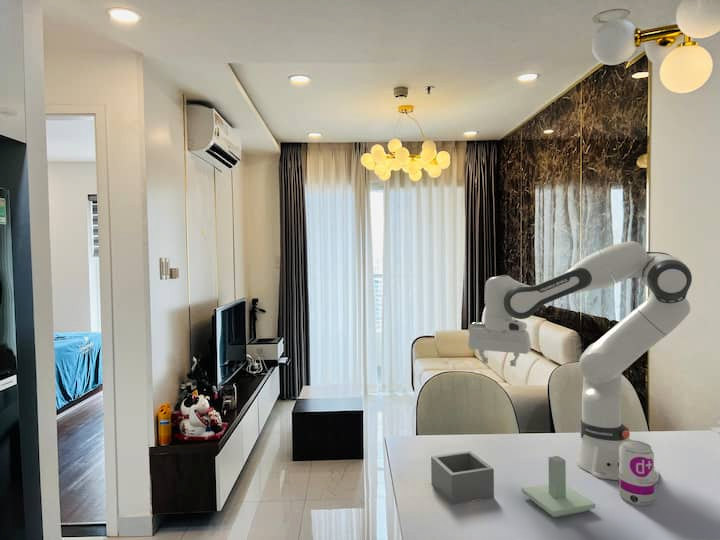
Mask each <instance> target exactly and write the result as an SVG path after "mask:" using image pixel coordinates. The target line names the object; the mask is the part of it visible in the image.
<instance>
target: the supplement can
mask: <svg viewBox="0 0 720 540" xmlns="http://www.w3.org/2000/svg"><path fill="white" fill-rule="evenodd" d="M654 467H655V453H654V451H653V449H652V446H651V445H650V444H648V443H646V442H644V441H639V440H633V439H631V440H625V441H622V442H621V445H620V447H619V480H618V483H619V484H618V485H619V487H618V488H619V489H618V493H619V496H620V497H621V498H622V499H623V500H624V501H626V502H627V503H629V504H632V505H635V506H643V507H645V506H650V505H651V504H653V503H654V501H655V484H654Z"/></svg>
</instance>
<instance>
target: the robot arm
mask: <svg viewBox="0 0 720 540" xmlns="http://www.w3.org/2000/svg"><path fill="white" fill-rule="evenodd" d="M633 278H635V279H640V280H642V282H643V284H645V286H646V287H647V288H649V289H650V293H649V295H648V297H647V298H646V299H645V301H644V302H642V303H641V304H639V305H638V306H637V307H636V308H634V309H633V310H632V311H631V312H629V314H627V315H625V317H623V318H622V319H621V320H620V321H619V322H618V323H616V324H615V325H614V326H613V327H612V328H611V329H608V331H607V332H605V334H604V335H602V336H601V337H600V338H599V339H597V340H596V341H595V342H593V343H591V344H590V345H589V346H588V347H587V348H586V349H584V351H583V352H582V353H581V355H580V357H579V362H578V367H579V371H580V372H581V374H582V376H583V380H582V381H583V382H582V391H581V392H582V393H581V420H580V424H579V425H580V426H579V431H580V432H579V433H580V434H579V435H580V438H581V441H580V442H581V443H580V449H579V453H578V458H577V460H576V464H577V466H578V467H579V468H581V469H582V470H584V471H586V472H588V473H590V474H592V475H593V476H594V477H595V478H598V479H604V480H605V479H606V480H613V481H619V447H620V445H621V442H622V441H625V440H632V438H630V435H631V434H630V431H629V427H628V425H624V424H623V423H622V379H623V377H622V376H623V375H622V373H623V372H624V371H625V370H627V369H628V368H630V366H631V365H633V363H634V362H636V361H637V360H638V359H639V358H640V357H642V356H643V354H645V353H646V352H647V351H648V350H650V349H651V348H652V347H654V346H655V345H656V344H658V343H659V342H660V341H661V340H663V339H664V338H665V337H667V335H669V334H670V333H672V332H673V331H674V330H676V328H677V327H679V325H680V324H681V323H682V322H683V321H684V320H685V319H686V317H687V316H688V315H689V314H690V313H691V304H690V302H689V300H688V299H687V295H688V292H689V289H690V288H691V286H692V285H691V284H692V281H693V276H692V272H691V270H690V268H689V267H688V266H687V265H686V264H685V263H684V262H683V261H682V260H681V259H679V258H677V257H675V256H672V255H671V254H669V253H666V252H659V251H658V252H657V251H656V252H655V251H647V250H646V249H645V247H644V246H643V245H642V244H641V243H639V242H637V241H633V240H628V241H624V242H619V243H617V244H613V245H610V246H607V247H604V248H601V249H599V250H597V251H594V252H593V253H590V254H589V255H587V256H584V257H583V258H582V259H580V260H578V261H577V262H576V263H575V264H574V265H573V266H571V267H570V268H569V269H567V270H566V271H565V272H563V273H561V274H559V275H557V276H555V277H552V278H550V279H547V280H545V281H543V282H540V283H538V284H535V285H528V284H526V283H522V282H520V281H518V280H515V279H514V278H512V277H511V276H510V275H507V274H503V275H497V276H492V277H489V278H488V279H487V280H486V282H485V287H484V305H485V312H484V322H476V321H475V322H474V321H473V322H472V323H470V324H469V325H468V334H469V336H468V342H467V343H468V348H469V349H470V350H475V351H477V350H478V354H479V356H480V357H481V363H482V364H489V360H488V359H489V357H486V355H485V351H489V352H501V353H511V354H513V356H514V358H513V359H511V360H510V361H509V363H510V365H509V366H510V367H516V366H517V360H518V358H519V357H520V354H521V355H522V354H523V355H527V354H528V353H530V351H531V348H532V347H531V345H532V344H531V337H530V333H529V332H528V330H526V329H527V328H528V324H527V323H526V322H525V321H522V320H526V319H528V318H530V317H532V316H533V315H534V314H535V313H536V312H537V311H538V310H539V309H540V308H541V307H543V306H544V305H546V304H548V303H551V302H553V301H556V300H558V299H561V298H563V297H565V296H568V295H570V294H571V295H572V294H575V293H579V292H587V291H593V290H599V289H603V288H606V287H609V286H613V285H615V284H617V283H620V282H622V281H625V280H628V279H633ZM520 320H521V321H520ZM659 480H660V474H659V471H658V469H657V468H656V466H654V485H655V484H657V483H658V482H659Z"/></svg>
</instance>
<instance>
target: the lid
mask: <svg viewBox="0 0 720 540" xmlns="http://www.w3.org/2000/svg"><path fill="white" fill-rule="evenodd" d="M566 469H567V467H566V459H564V458H563V457H560V456H559V455H556V456H555V455H554V456H548V483H544V484H538V485H533V486H527V487H526V486H525V487H522V488H521V493H522V494H523V495H525V496H526V497H527V498H528V499H530V500H531V501H532V502H533V501H534V502H533V503H535V505H537V506H538V507H540V508H541V509H542V510H544V511H545V512H546V513H548V514H549V515H550V516H551V515H552V516H551V517H552V518H558V517H565V516H569V515H574V514H579V513H585V512H587V510H588V511H589V510H592V509H593V510H594V509H596V503H595V502H594V501H592V500H590V499H589V498H588V497H586V496H584V495H582V493H580V492H578V491H577V490H575V489H573V488H572V487H571V486H569V485H567V483H566V481H567V479H566V476H567V475H566V473H567V472H566Z"/></svg>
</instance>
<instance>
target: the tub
mask: <svg viewBox="0 0 720 540" xmlns="http://www.w3.org/2000/svg"><path fill="white" fill-rule="evenodd" d="M430 461H431V462H430V465H431V467H430V470H431V479H430V480H431V484H432V485H433V487H434V488H435V489H436V490H439V491H438V492H439V493H440V494H441V495H442V496H443V498H445V499H446V500H447V501H448V502H449V503H450V505H457V504H462V503H461V502H463V503H467V502H466V501H469V502H473V501H472V500H475V501H480V500H479V499H481V500H485V498H487V499H490V498H495V482H494V481H495V475H494V474H495V471H494V468H493V467H492V466H491V465H489V463H487V462H485V461H484V460H483V459H481V458H480V457H479V456H477V455H476V454H475V453H473V452H472V451H471V450H469V451H461V452H455V453H445V454H439V455H433V456H430ZM477 499H478V500H477Z"/></svg>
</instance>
